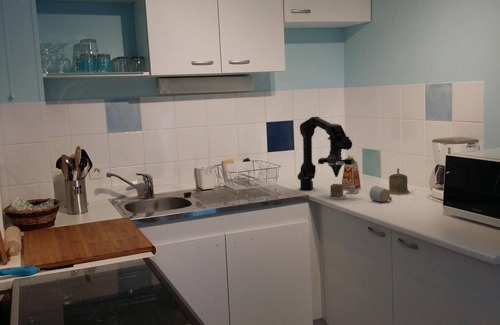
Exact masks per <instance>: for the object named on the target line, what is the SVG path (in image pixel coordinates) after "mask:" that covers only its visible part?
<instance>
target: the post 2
mask: <svg viewBox="0 0 500 325" xmlns="http://www.w3.org/2000/svg"><path fill="white" fill-rule="evenodd" d="M358 193H360V191H359V190H357V191H355V186H352V185H351V186H349V191H348V190H347V191H346V192H345V195H357V194H358Z"/></svg>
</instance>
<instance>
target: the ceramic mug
mask: <svg viewBox="0 0 500 325" xmlns="http://www.w3.org/2000/svg"><path fill="white" fill-rule="evenodd" d="M388 190H389V189H387V188H386V187H382V186H378V185H373V186H372V187H371V188H370V190H369V193H368V194H369V198H370V199H371V200H372V201H375V202H379V203H386V202H388V201H392V199H393V198H392V196H390V195H391V194H390V193H389V191H388Z"/></svg>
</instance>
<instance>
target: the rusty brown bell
mask: <svg viewBox="0 0 500 325" xmlns="http://www.w3.org/2000/svg"><path fill="white" fill-rule="evenodd" d="M388 178H389V179H388V184H389V185H388V189H387V190H388V191H389V193H390V195H394V196H395V195H396V196H400V195H401V196H402V195H409V194H410V191H409V189H408V176H407V174H403V173H400V168H398V167H397V168H396V173H393V174H391V175H388Z"/></svg>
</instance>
